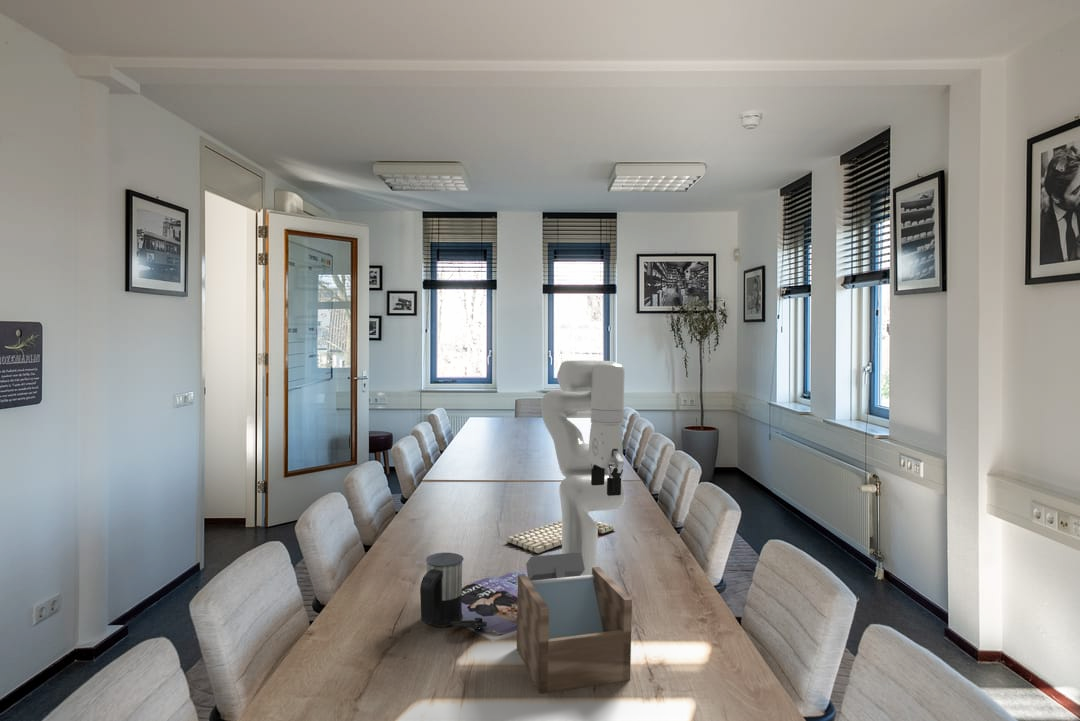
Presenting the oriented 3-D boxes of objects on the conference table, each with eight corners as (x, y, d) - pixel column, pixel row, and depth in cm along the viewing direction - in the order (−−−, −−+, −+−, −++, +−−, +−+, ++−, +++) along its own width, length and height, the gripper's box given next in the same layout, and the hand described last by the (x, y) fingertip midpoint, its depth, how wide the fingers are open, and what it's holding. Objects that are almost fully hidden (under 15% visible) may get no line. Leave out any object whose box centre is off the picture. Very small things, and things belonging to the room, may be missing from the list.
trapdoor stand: (516, 648, 138) (517, 574, 138) (597, 637, 144) (598, 566, 143) (539, 693, 121) (541, 609, 120) (630, 679, 126) (632, 599, 126)
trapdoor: (520, 564, 144) (525, 555, 139) (580, 558, 148) (588, 550, 143) (533, 658, 133) (540, 652, 128) (598, 649, 137) (607, 643, 132)
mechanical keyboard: (544, 560, 194) (544, 549, 194) (502, 545, 207) (502, 535, 207) (617, 533, 222) (617, 524, 222) (575, 522, 235) (575, 513, 235)
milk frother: (429, 609, 157) (429, 551, 156) (492, 611, 156) (492, 553, 156) (415, 637, 143) (416, 572, 142) (484, 639, 142) (485, 575, 141)
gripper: (579, 412, 152) (577, 482, 153) (606, 422, 136) (604, 500, 136) (607, 411, 154) (606, 480, 155) (638, 421, 138) (636, 498, 139)
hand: (605, 489), depth 146 cm, fingers open, 9 cm apart
